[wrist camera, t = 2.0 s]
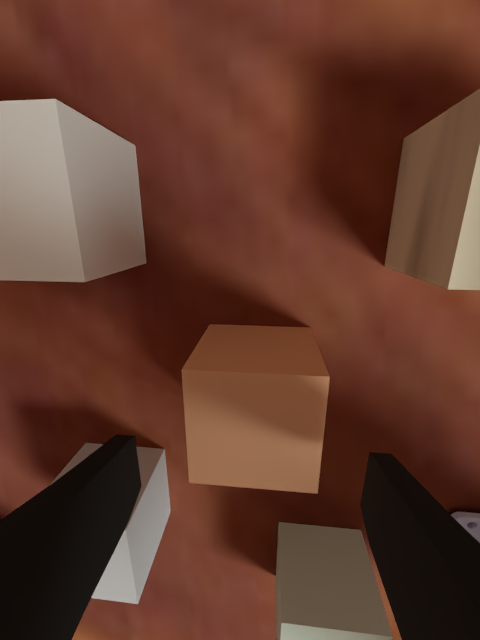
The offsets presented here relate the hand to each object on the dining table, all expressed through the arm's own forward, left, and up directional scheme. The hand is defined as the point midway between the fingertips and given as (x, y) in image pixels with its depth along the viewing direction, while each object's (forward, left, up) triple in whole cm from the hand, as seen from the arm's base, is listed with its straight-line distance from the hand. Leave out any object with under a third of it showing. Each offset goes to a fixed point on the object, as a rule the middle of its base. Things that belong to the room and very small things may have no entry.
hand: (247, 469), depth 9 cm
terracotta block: (0, 0, -7) cm, 7 cm away
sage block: (-4, +13, -7) cm, 15 cm away
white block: (+8, -8, -7) cm, 13 cm away
